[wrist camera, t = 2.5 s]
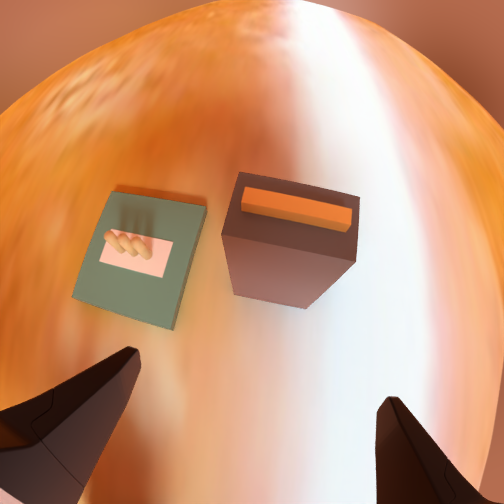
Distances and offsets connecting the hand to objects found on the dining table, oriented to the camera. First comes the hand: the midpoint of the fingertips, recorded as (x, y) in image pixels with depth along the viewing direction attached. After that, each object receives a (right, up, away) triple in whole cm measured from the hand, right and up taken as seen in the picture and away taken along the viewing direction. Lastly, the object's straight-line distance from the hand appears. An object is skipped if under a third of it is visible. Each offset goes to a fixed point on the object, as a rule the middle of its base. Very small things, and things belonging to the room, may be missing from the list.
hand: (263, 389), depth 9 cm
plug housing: (+1, +2, +15) cm, 16 cm away
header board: (-10, +4, +16) cm, 20 cm away
